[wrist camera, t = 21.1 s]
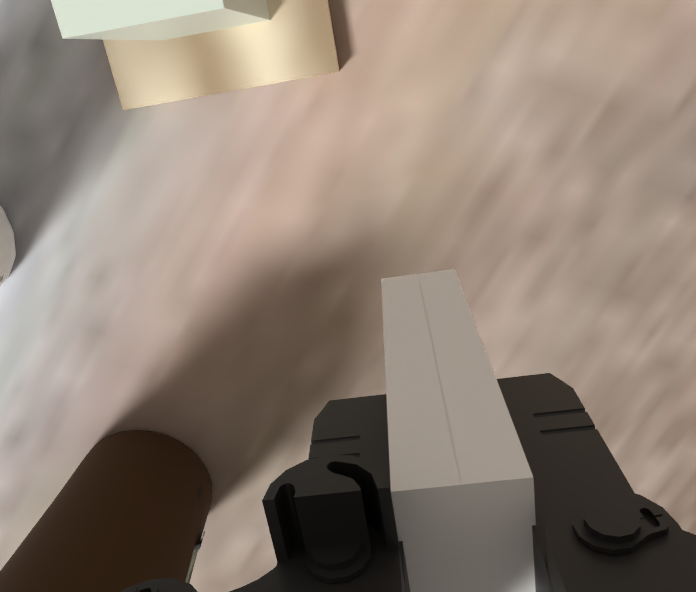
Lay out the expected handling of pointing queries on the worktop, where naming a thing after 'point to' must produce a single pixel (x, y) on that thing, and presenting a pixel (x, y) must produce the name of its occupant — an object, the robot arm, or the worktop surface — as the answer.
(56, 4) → the tall mint green block
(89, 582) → the olive oil
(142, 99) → the post base
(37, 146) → the worktop surface
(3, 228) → the supplement can
